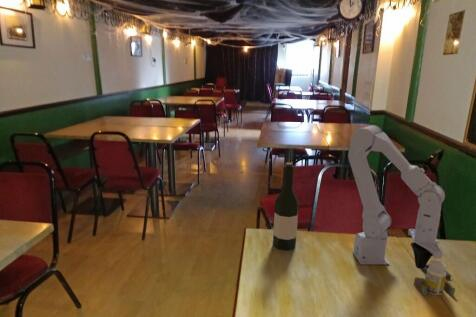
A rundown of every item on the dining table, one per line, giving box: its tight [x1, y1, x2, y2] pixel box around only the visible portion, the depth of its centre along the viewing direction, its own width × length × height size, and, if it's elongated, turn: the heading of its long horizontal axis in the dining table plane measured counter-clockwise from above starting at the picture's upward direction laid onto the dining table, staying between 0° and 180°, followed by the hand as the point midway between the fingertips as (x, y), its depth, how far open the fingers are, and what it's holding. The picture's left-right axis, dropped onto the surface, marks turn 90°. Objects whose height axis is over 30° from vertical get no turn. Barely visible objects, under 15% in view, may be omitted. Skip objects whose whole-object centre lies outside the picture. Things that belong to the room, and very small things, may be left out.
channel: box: [413, 277, 456, 297], centre depth 97 cm, size 9×5×2 cm, turn 92°
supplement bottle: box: [424, 259, 447, 296], centre depth 96 cm, size 5×5×8 cm
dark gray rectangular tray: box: [420, 263, 452, 280], centre depth 106 cm, size 6×6×1 cm
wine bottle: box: [272, 162, 300, 252], centre depth 118 cm, size 8×8×30 cm
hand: (419, 267), depth 104 cm, fingers closed
